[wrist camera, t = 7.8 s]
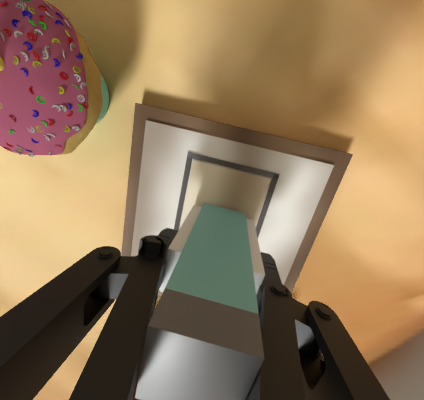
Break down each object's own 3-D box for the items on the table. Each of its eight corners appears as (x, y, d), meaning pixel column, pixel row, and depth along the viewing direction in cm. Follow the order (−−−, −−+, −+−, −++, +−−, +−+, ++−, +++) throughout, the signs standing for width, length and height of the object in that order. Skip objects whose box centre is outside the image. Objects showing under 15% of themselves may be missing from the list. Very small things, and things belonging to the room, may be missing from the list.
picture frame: (123, 279, 21) (116, 288, 20) (141, 104, 16) (133, 102, 15) (273, 318, 21) (276, 330, 20) (345, 153, 15) (355, 154, 14)
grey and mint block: (195, 239, 17) (135, 397, 7) (204, 202, 16) (147, 326, 6) (234, 249, 17) (232, 426, 7) (245, 213, 16) (264, 358, 6)
